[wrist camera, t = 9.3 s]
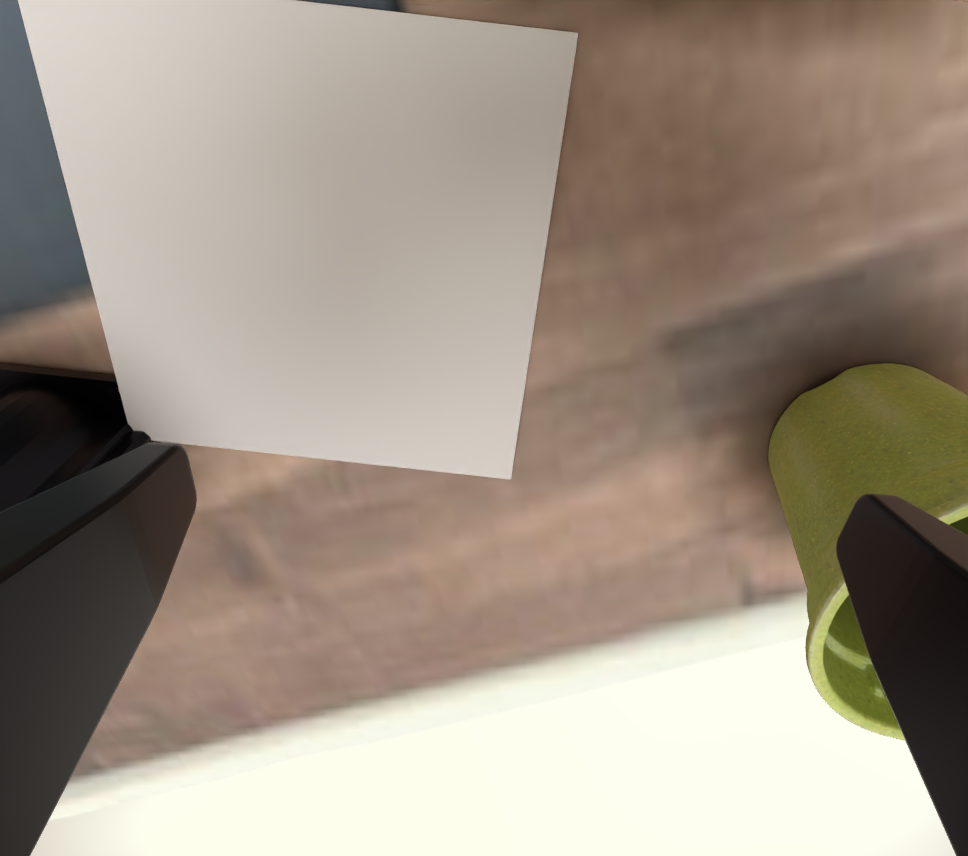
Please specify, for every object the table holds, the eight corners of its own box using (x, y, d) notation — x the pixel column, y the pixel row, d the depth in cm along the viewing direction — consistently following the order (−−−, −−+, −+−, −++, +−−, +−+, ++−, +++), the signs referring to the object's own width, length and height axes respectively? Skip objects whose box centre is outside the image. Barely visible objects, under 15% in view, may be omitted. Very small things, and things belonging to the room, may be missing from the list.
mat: (142, 426, 24) (131, 438, 23) (31, -31, 16) (9, -33, 15) (511, 466, 24) (510, 479, 23) (576, 32, 16) (578, 33, 15)
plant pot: (766, 298, 20) (907, 461, 12) (1064, 325, 20) (1381, 503, 12) (690, 521, 25) (759, 728, 18) (927, 542, 25) (1094, 759, 18)
